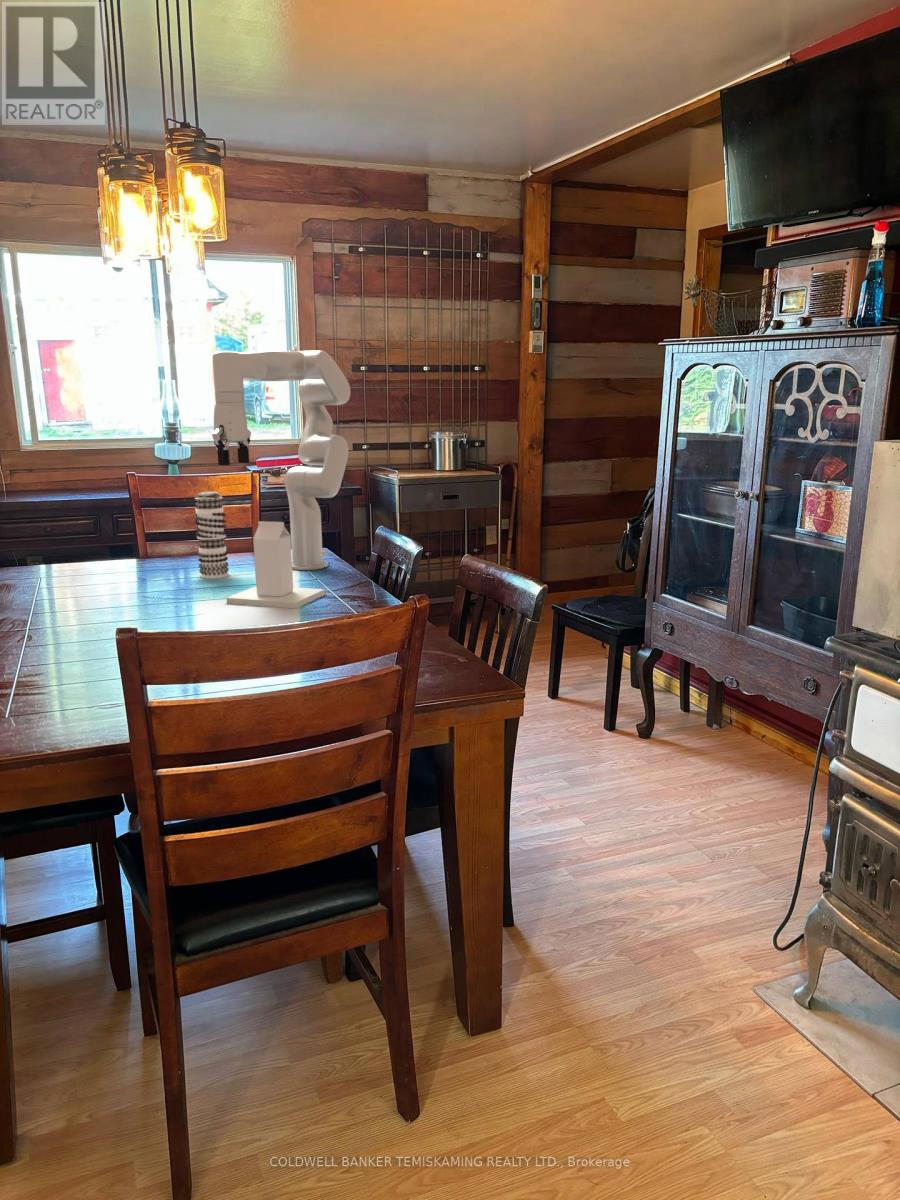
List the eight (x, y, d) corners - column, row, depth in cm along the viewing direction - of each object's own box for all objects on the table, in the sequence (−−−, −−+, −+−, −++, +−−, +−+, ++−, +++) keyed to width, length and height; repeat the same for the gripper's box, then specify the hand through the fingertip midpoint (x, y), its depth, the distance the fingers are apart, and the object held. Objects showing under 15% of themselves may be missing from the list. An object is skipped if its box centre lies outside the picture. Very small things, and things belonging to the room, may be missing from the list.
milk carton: (281, 597, 211) (277, 524, 207) (256, 596, 213) (252, 523, 208) (293, 591, 218) (289, 520, 213) (269, 590, 220) (264, 519, 215)
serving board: (258, 590, 226) (258, 585, 226) (324, 594, 220) (324, 589, 220) (226, 603, 211) (226, 597, 211) (296, 608, 205) (295, 602, 205)
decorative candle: (229, 571, 253) (223, 490, 247) (231, 577, 244) (225, 493, 239) (198, 573, 250) (191, 491, 244) (199, 579, 242) (192, 494, 236)
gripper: (235, 399, 229) (239, 461, 232) (198, 399, 212) (203, 466, 216) (259, 399, 226) (262, 462, 230) (224, 399, 210) (228, 466, 214)
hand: (234, 463), depth 223 cm, fingers open, 9 cm apart
